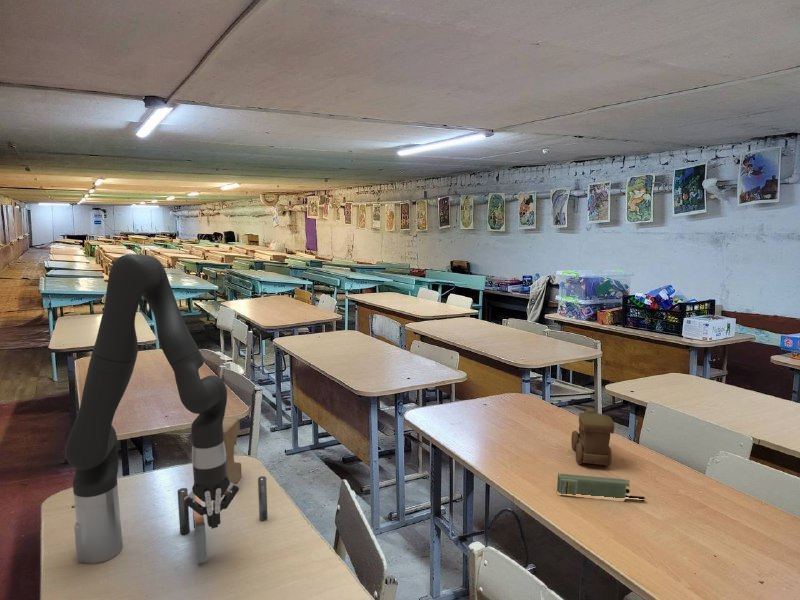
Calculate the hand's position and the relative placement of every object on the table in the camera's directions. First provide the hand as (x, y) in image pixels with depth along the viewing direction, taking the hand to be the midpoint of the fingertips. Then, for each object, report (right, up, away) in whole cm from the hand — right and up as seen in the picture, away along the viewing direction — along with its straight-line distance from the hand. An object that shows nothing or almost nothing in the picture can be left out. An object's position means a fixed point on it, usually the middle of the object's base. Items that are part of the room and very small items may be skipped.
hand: (214, 526), depth 127 cm
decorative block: (-8, -2, +34) cm, 35 cm away
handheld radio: (+105, -5, +30) cm, 110 cm away
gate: (-5, -6, +4) cm, 9 cm away
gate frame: (-2, -6, +13) cm, 15 cm away
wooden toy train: (+112, 0, +55) cm, 125 cm away
